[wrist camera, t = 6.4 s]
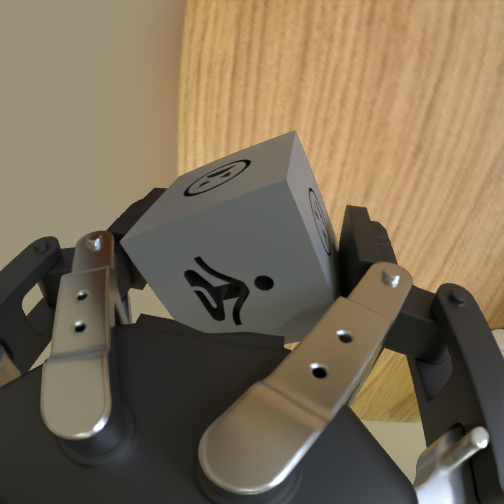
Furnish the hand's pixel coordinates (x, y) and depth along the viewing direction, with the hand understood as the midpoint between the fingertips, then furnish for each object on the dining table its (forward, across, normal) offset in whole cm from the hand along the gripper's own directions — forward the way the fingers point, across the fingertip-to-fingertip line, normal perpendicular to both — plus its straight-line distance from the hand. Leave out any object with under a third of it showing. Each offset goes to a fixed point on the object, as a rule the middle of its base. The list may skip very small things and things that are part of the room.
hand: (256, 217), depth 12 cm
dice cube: (+1, 0, 0) cm, 1 cm away
